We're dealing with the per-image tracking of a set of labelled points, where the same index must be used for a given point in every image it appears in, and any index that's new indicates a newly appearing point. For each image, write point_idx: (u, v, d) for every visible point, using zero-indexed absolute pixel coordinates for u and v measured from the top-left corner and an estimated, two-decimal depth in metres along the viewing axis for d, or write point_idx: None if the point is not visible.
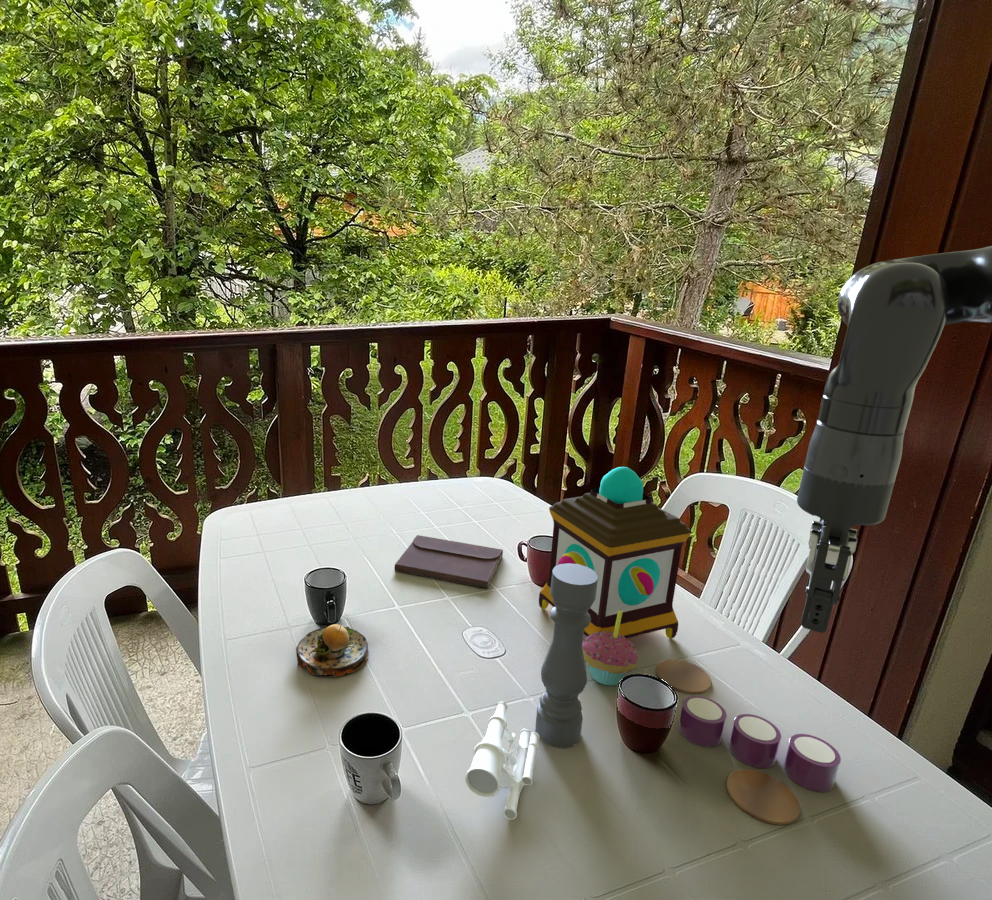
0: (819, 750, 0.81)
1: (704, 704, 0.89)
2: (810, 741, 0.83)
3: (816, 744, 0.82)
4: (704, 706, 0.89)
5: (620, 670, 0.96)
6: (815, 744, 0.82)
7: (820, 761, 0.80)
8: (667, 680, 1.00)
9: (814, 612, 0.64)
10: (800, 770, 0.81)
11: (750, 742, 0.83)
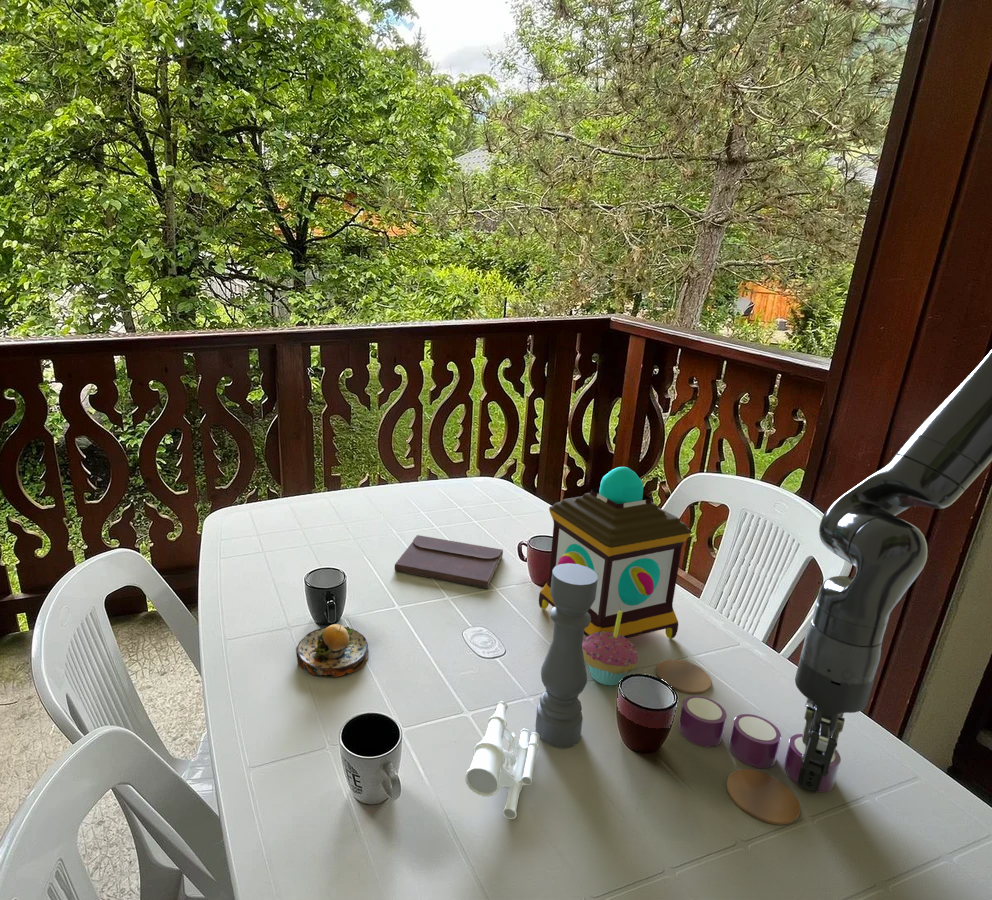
0: None
1: (704, 704, 0.89)
2: None
3: None
4: (704, 706, 0.89)
5: (620, 670, 0.96)
6: None
7: None
8: (667, 680, 1.00)
9: None
10: None
11: (750, 742, 0.83)
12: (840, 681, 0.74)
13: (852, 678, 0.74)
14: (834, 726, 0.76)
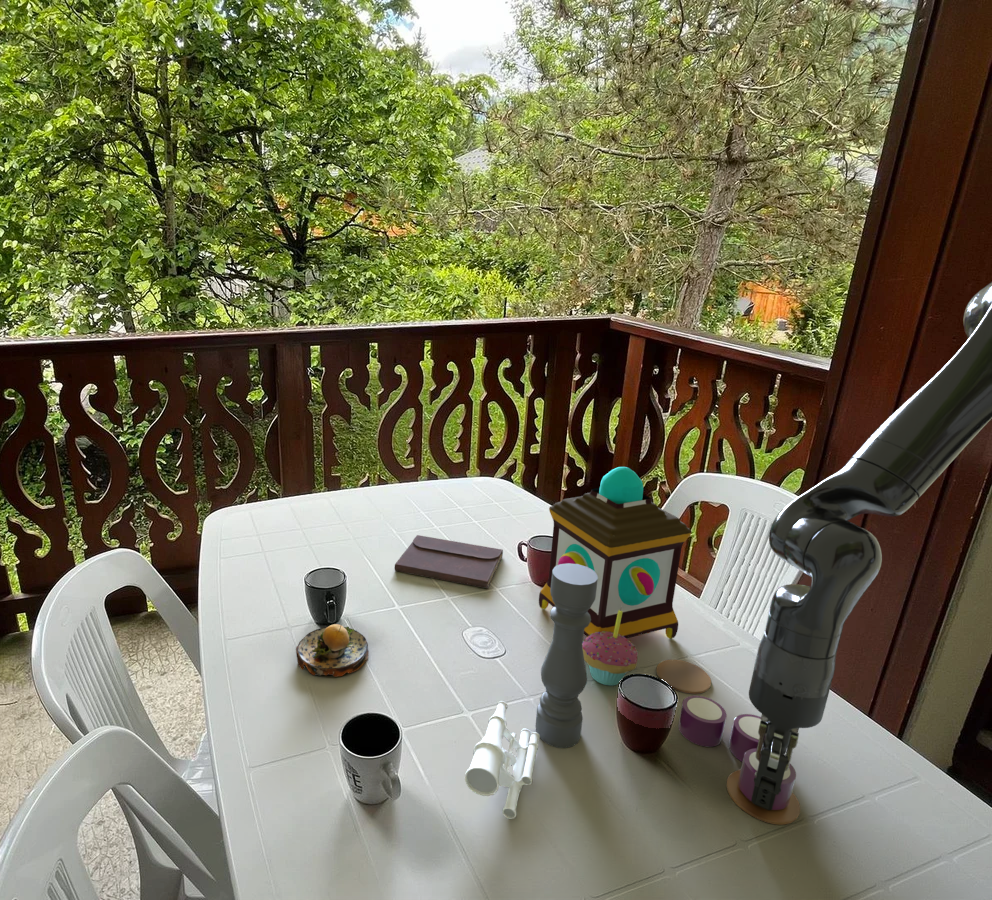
0: None
1: (704, 704, 0.89)
2: None
3: None
4: (704, 706, 0.89)
5: (620, 670, 0.96)
6: None
7: None
8: (667, 680, 1.00)
9: None
10: (753, 787, 0.77)
11: (750, 742, 0.83)
12: (792, 695, 0.71)
13: (804, 692, 0.70)
14: (787, 742, 0.72)
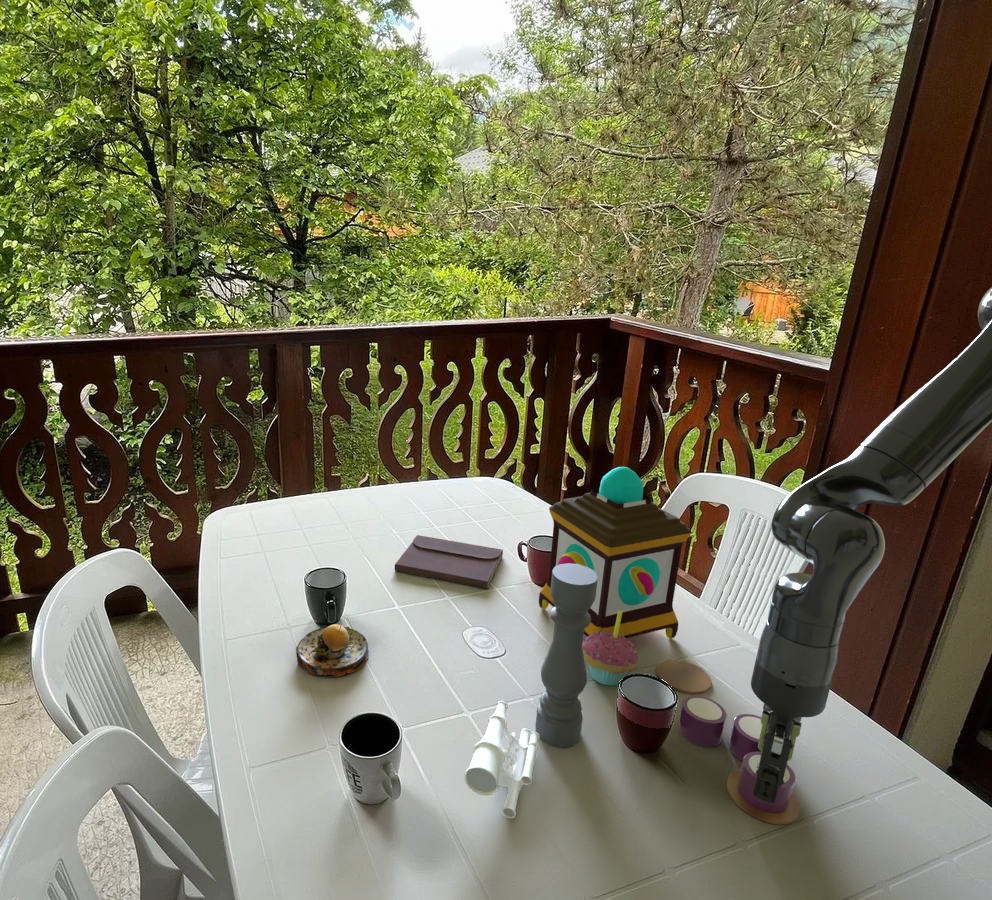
0: None
1: (704, 704, 0.89)
2: None
3: None
4: (704, 706, 0.89)
5: (620, 670, 0.96)
6: None
7: None
8: (667, 680, 1.00)
9: None
10: (753, 791, 0.77)
11: (750, 742, 0.83)
12: (795, 684, 0.70)
13: (807, 681, 0.69)
14: (789, 732, 0.71)
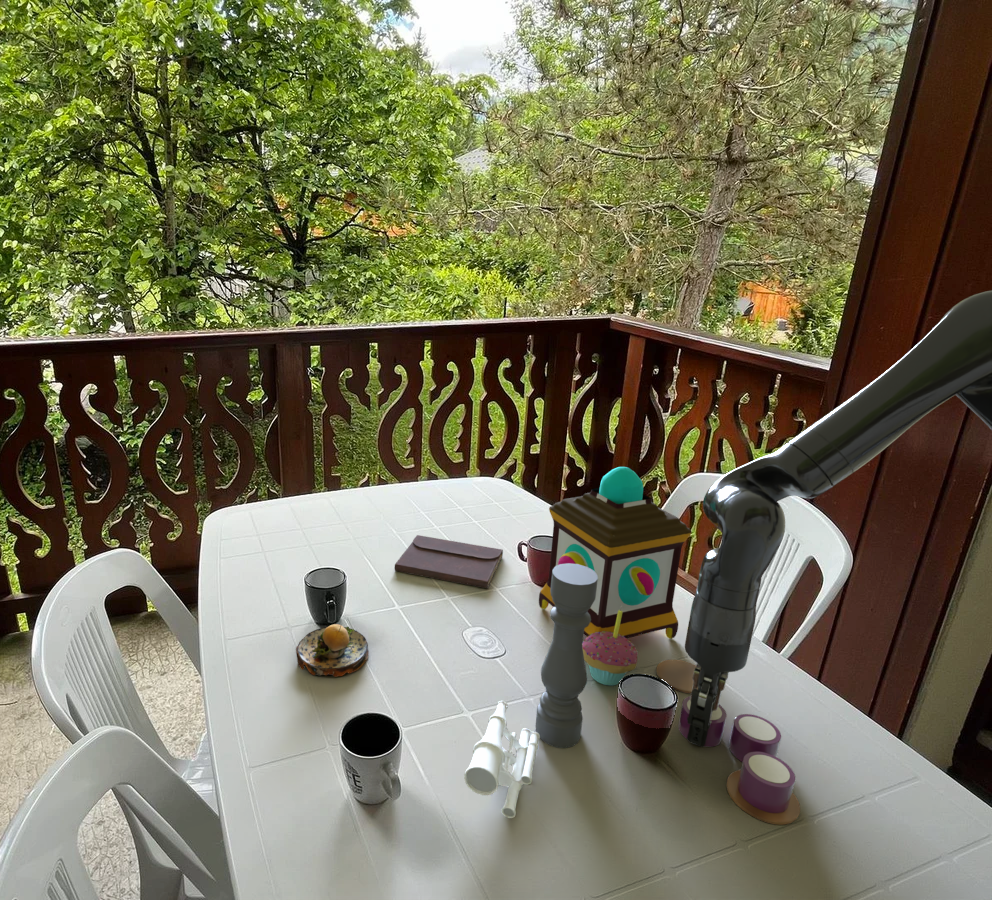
0: (774, 769, 0.78)
1: None
2: (764, 759, 0.79)
3: (771, 763, 0.79)
4: None
5: (620, 670, 0.96)
6: (770, 762, 0.79)
7: (773, 781, 0.76)
8: (667, 680, 1.00)
9: None
10: (753, 791, 0.77)
11: (750, 742, 0.83)
12: (718, 642, 0.81)
13: (728, 639, 0.81)
14: (714, 684, 0.83)
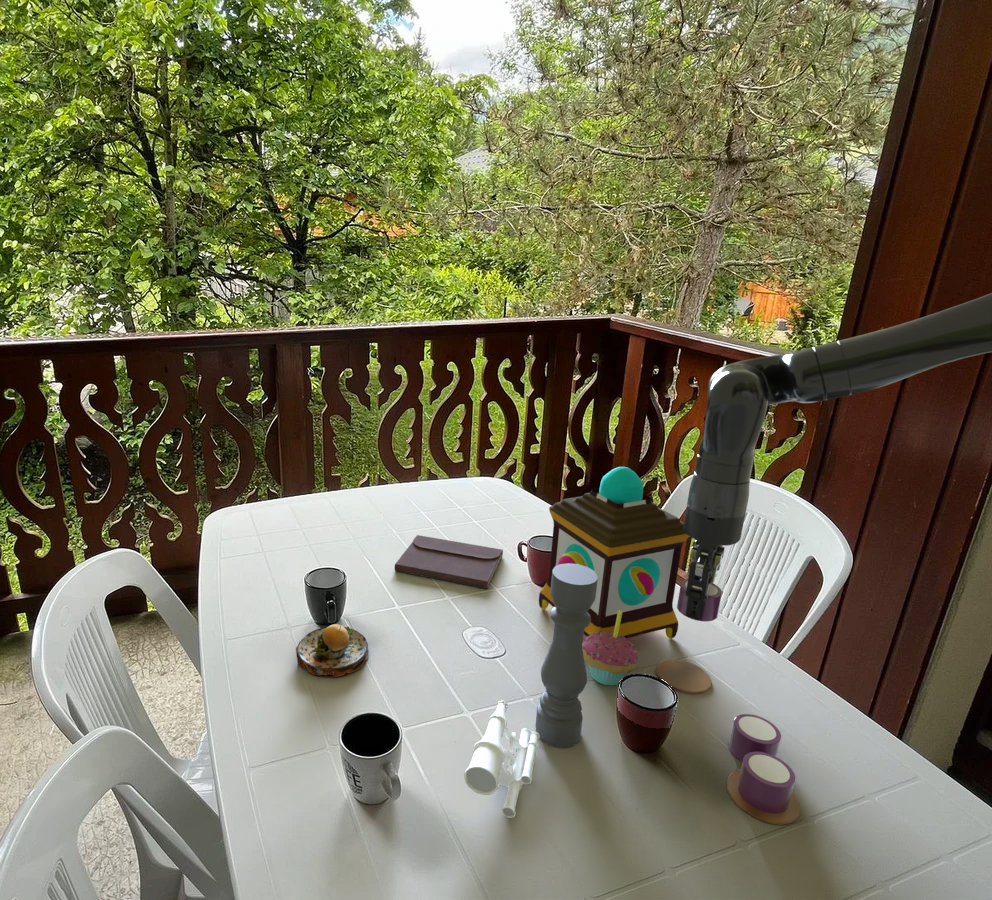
0: (774, 769, 0.78)
1: None
2: (764, 759, 0.79)
3: (771, 763, 0.79)
4: None
5: (620, 670, 0.96)
6: (770, 762, 0.79)
7: (773, 781, 0.76)
8: (667, 680, 1.00)
9: None
10: (753, 791, 0.77)
11: (750, 742, 0.83)
12: (714, 516, 0.87)
13: (723, 513, 0.87)
14: (711, 557, 0.89)
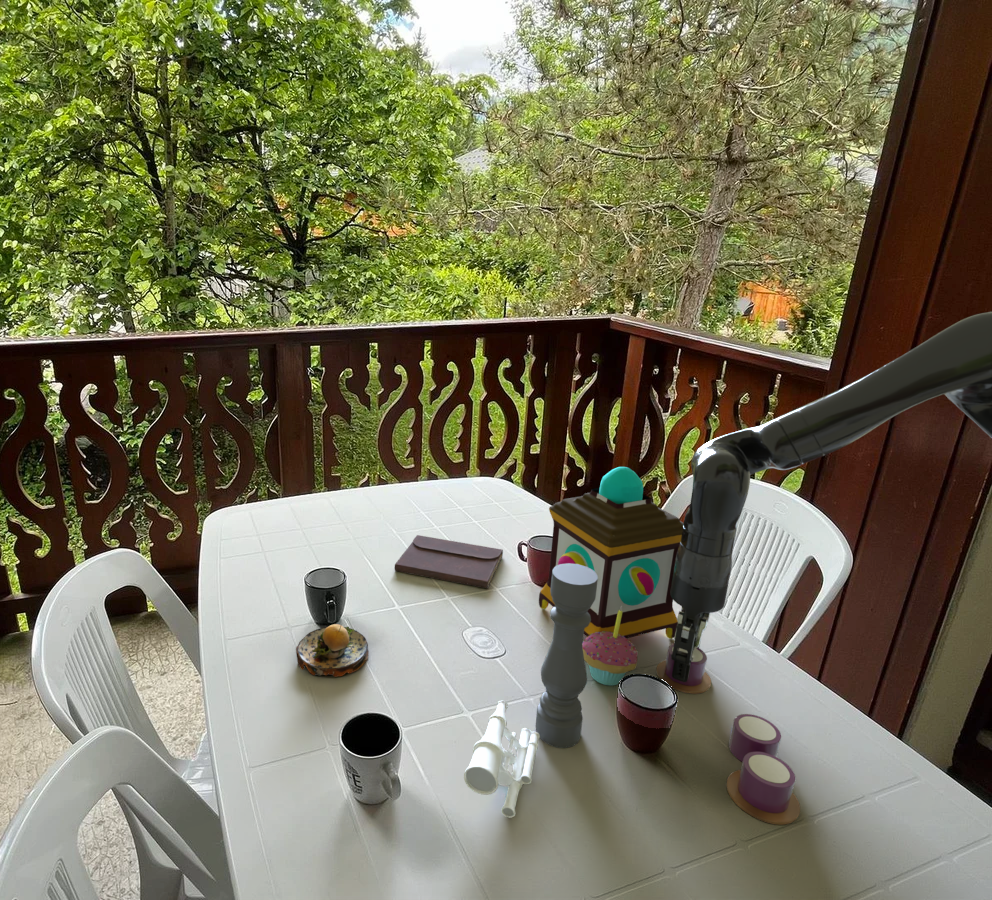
0: (774, 769, 0.78)
1: None
2: (764, 759, 0.79)
3: (771, 763, 0.79)
4: None
5: (620, 670, 0.96)
6: (770, 762, 0.79)
7: (773, 781, 0.76)
8: (667, 680, 1.00)
9: None
10: (753, 791, 0.77)
11: (750, 742, 0.83)
12: (699, 586, 0.92)
13: (707, 583, 0.92)
14: (696, 624, 0.94)
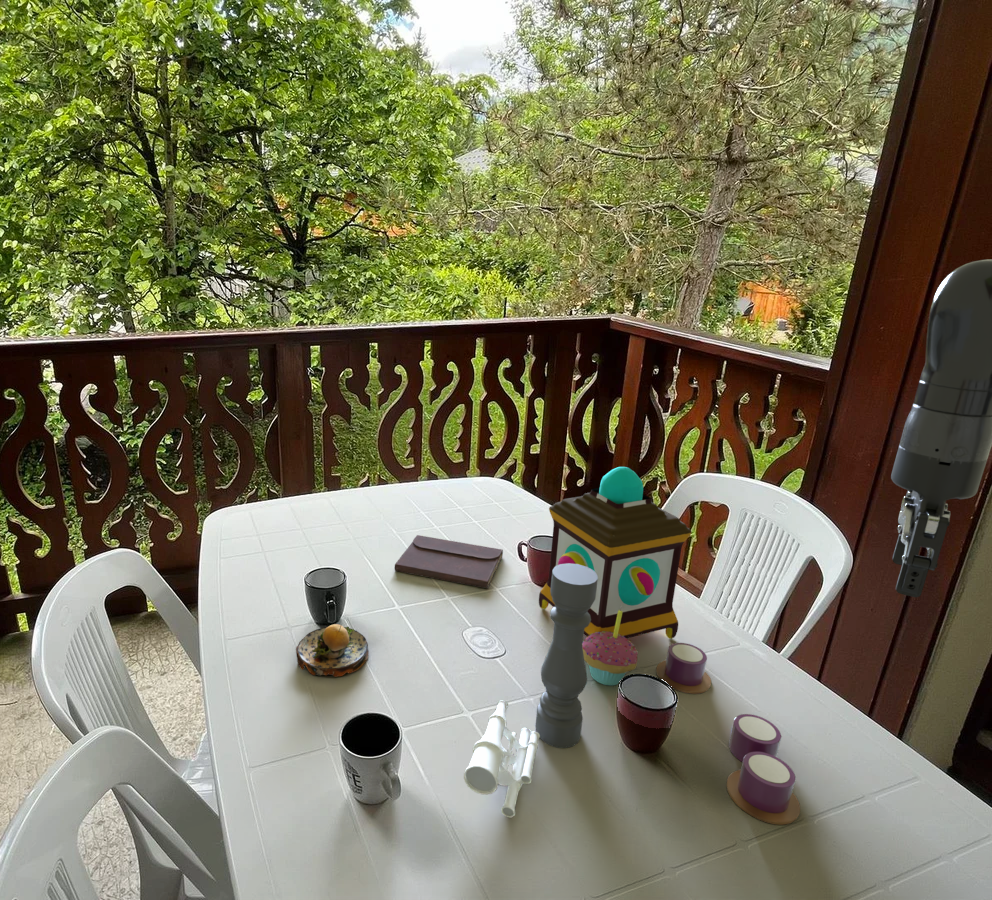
0: (774, 769, 0.78)
1: (687, 649, 1.01)
2: (764, 759, 0.79)
3: (771, 763, 0.79)
4: (687, 651, 1.00)
5: (620, 670, 0.96)
6: (770, 762, 0.79)
7: (773, 781, 0.76)
8: (667, 680, 1.00)
9: None
10: (753, 791, 0.77)
11: (750, 742, 0.83)
12: (950, 460, 0.67)
13: (964, 455, 0.66)
14: (941, 515, 0.68)
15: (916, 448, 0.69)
